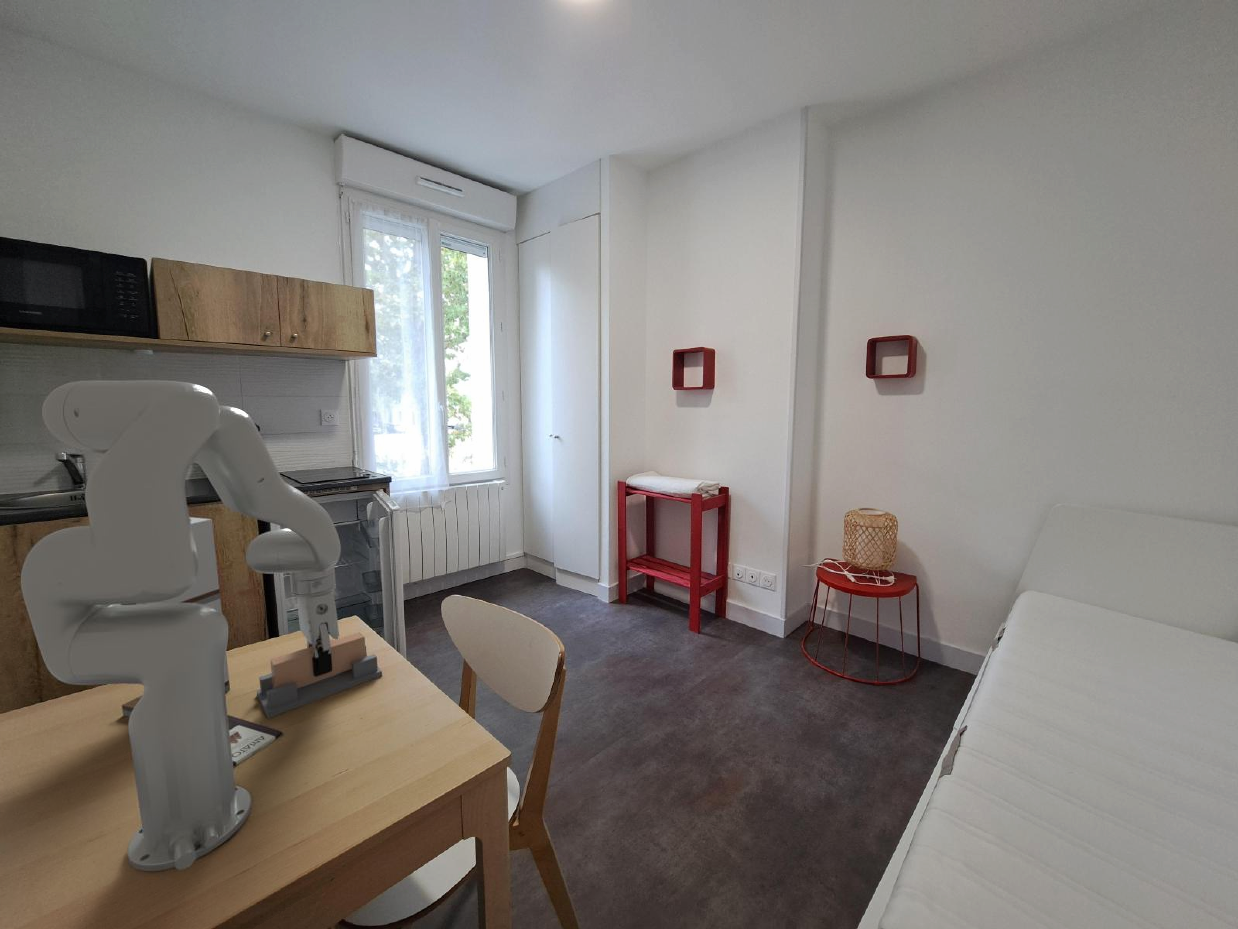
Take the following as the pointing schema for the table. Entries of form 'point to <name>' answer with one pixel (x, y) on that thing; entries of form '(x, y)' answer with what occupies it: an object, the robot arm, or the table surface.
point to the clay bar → (301, 664)
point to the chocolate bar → (248, 738)
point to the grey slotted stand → (314, 687)
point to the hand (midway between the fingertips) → (320, 669)
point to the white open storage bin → (197, 585)
